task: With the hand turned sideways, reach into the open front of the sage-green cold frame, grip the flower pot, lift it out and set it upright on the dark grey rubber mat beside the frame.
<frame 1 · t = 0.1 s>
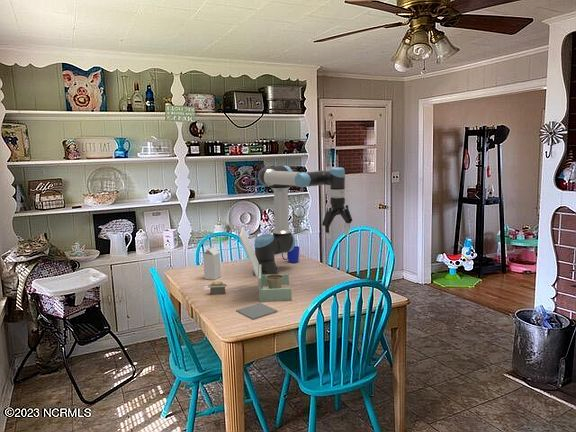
hand: (337, 236, 235), 28 cm above the table, tool pointing down, fingers open, 13 cm apart
frame lid: (249, 250, 230), point 23 cm above the table, hinge at 110.0°
mug: (290, 262, 294), on the table
cold frame: (275, 292, 234), on the table
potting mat: (256, 311, 208), on the table
flower pot: (275, 292, 234), resting in cold frame
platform: (218, 294, 236), on the table
milk carton: (212, 278, 264), on the table
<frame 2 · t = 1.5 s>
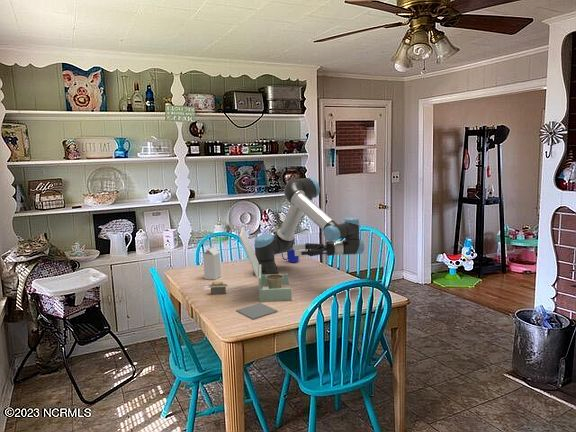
hand: (293, 250, 231), 22 cm above the table, tool horizontal, fingers open, 13 cm apart
nothing on the table moved.
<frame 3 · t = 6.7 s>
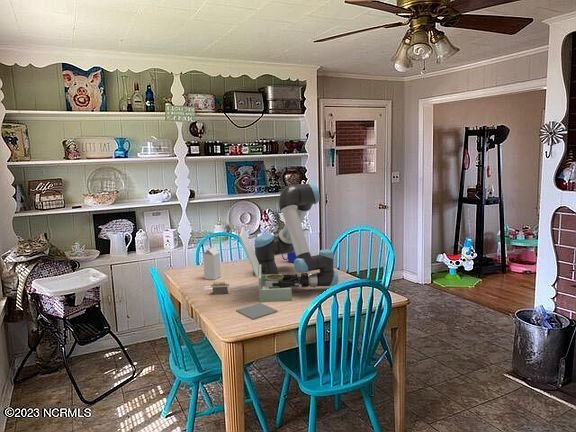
hand: (265, 281, 233), 6 cm above the table, tool horizontal, fingers closed on flower pot, 8 cm apart
flower pot: (275, 292, 234), resting in cold frame, touching gripper
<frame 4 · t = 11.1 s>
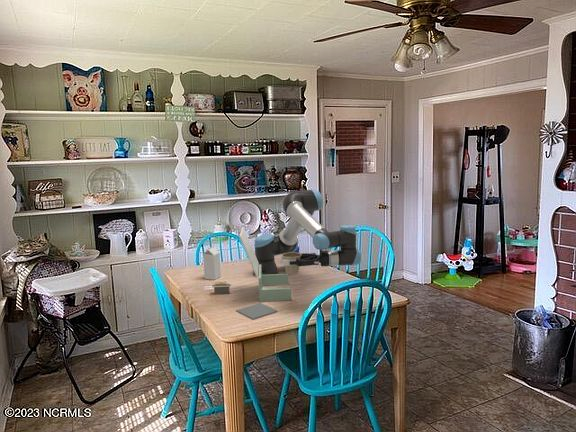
hand: (281, 260, 213), 22 cm above the table, tool horizontal, fingers closed on flower pot, 8 cm apart
flower pot: (292, 272, 214), point 16 cm above the table, touching gripper
when the fingers open (8 cm above the table, at t = 15.5 s): flower pot moves 3 cm, resting on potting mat.
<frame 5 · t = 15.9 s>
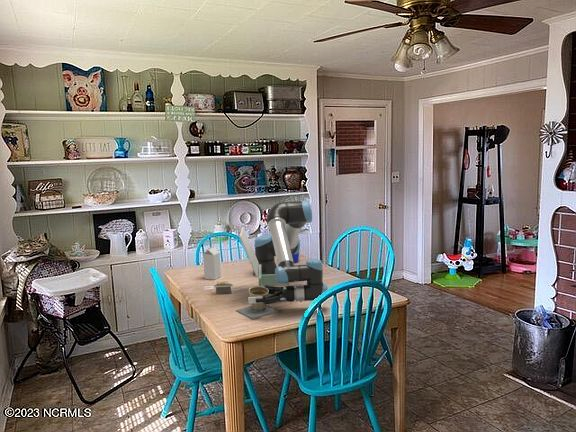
hand: (248, 295, 206), 8 cm above the table, tool horizontal, fingers open, 13 cm apart
flower pot: (258, 307, 210), point 1 cm above the table, touching gripper, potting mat
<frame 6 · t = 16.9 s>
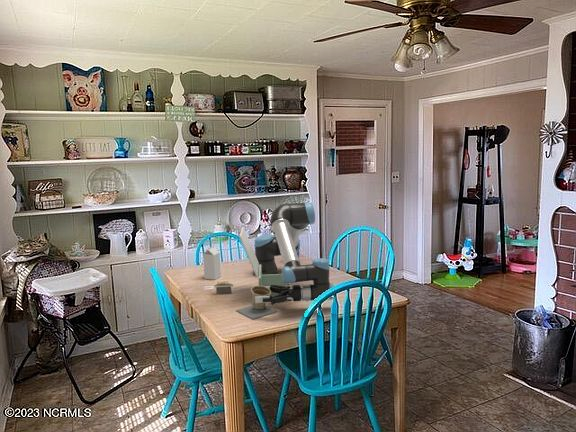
hand: (255, 294, 206), 8 cm above the table, tool horizontal, fingers open, 13 cm apart
flower pot: (258, 307, 210), point 1 cm above the table, touching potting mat
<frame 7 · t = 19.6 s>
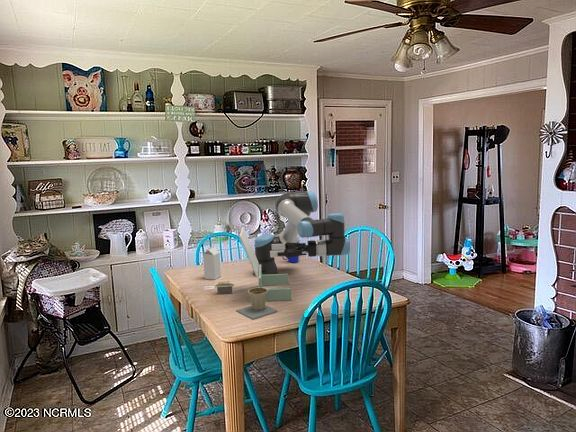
hand: (270, 250, 206), 29 cm above the table, tool horizontal, fingers open, 13 cm apart
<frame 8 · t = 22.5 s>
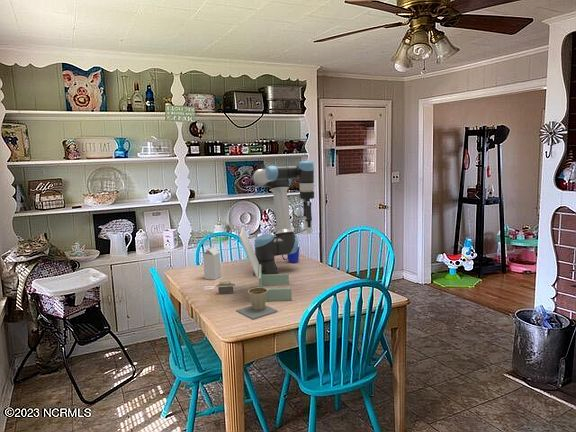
hand: (307, 231, 234), 32 cm above the table, tool pointing down, fingers open, 13 cm apart
at the end: flower pot inside the target area on the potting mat (3.0 cm from its centre), point 0.4 cm above the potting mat's base; flower pot tilted 0°; the gripper is holding nothing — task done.
